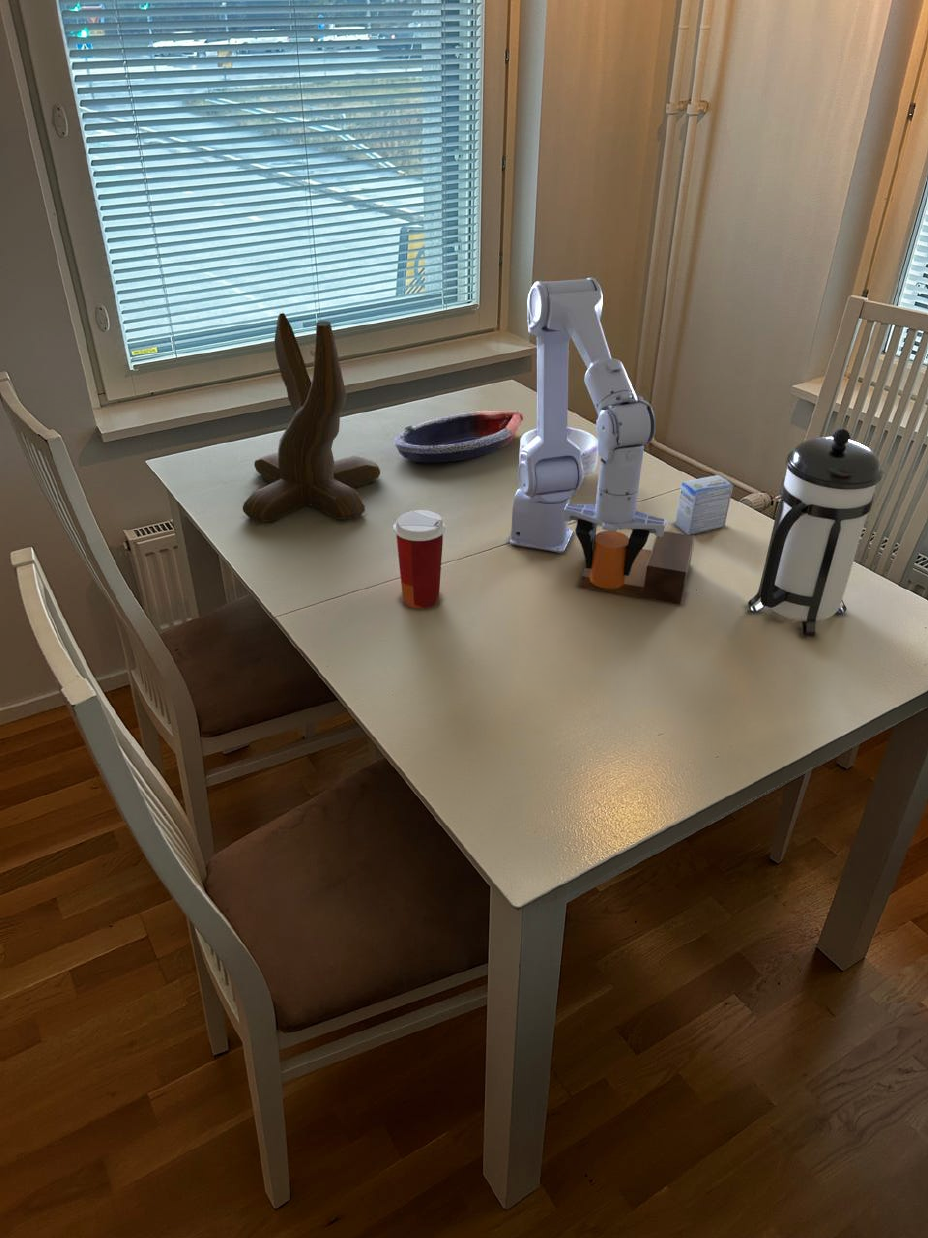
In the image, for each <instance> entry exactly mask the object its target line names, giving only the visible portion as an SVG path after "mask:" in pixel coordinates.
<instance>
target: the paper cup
mask: <svg viewBox="0 0 928 1238" xmlns="http://www.w3.org/2000/svg"><path fill="white" fill-rule="evenodd" d="M392 529H393V532H394V533H395V535H396V547H397V557H398V565H399V574H400V575H399V576H400V584H401V586H400V587H401V593H402V600H403V603H404V604H405V605H406V606H408V607H410V608H412V609H417V610H424V609H429V608H432V607H434V606H435V605H437V603H438V602H439V598H440V587H441V573H442V572H441V570H442V559H443V557H442V556H443V542H444V541H443V540H444V533H445V531H446V525H445V523H444V521H443V519H442V517H441V516H440V515H439V514H438V513H436V512H433V511H431V510H425V509H414V510H410V511H407V512H404V513H402V514H400V515H399V516H398V518H397V519H396V520H395V523H394V524H393V526H392Z"/></svg>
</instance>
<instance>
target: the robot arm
mask: <svg viewBox="0 0 928 1238" xmlns="http://www.w3.org/2000/svg"><path fill="white" fill-rule="evenodd" d="M603 301H604V300H603V291H602V288H601V285H600V283H599V282H598V280H596V278H594V277H587V278H582V279H569V280H555V281H554V280H553V281H541V280H537V281H535V282H534V283H533V285H532V286H531V288H530V291H529V293H528V295H527V327H528V328H527V329H528V334H530V335H532V336H535V337H536V429H537V437H536V438H535V439H534V440H532V441H531V442H530V443H529V444H527V445H526V446H525V447H524V448H523V449H522V450H521V454H520V453H519V456H520V458H519V459H520V460H519V461H520V462H519V464H518V468H517V479H518V480H517V481H518V485H519V488H518V489H517V490H516V492H515V495H514V498H513V504H512V513H511V516H512V517H511V531H510V532H511V533H510V540H509V544H510V545H511V546H512V545H513V546H517V547H525V548H528V549H529V548H531V549H534V550H535V549H536V550H539V551H540V550H541V551H546V552H552V553H559V554H563V553H564V552H565V550H566V548H567V546H568V544H569V542H570V539H571V538H572V535H573V532H575V535H576V537H577V539H578V541H579V544H580V546H581V549H582V552H583V556H584V561H585V567H586V568H588V569H590V568H591V563H592V553H593V544H594V537H595V535H596V534H597V527H598V526H601V527H602V530H603V531H617V532H618V530H629V531H631V533H630V535H629V537H628V538H629V546H628V557H627V562H626V567H625V572H624V575H627V576H629V574H630V571H631V568H632V564H633V562H634V560H635V558H636V557H637V555H638V554H639V552H640V551H641V549H644V547H645V546H646V544H647V542H648V539H649V536H650V534H654V536H655V537H656V536H658V537H663V534H664V531H666V523H667V519H666V518H662V517H657V516H653V515H651V514H647V513H645V512H643V511H639V510H637V502H638V496H639V488H640V481H641V473H642V465H643V458H644V451H645V446H644V445H649V444H651V442H653V440H654V437H655V434H656V418H655V417H656V416H655V413H654V410H653V407H652V405H651V403H649V401H647V400H645V399H643V396H641V395H637V394H636V392H635V390H634V387H633V384H632V383H631V380H630V378H629V376H628V373H627V371H626V369H625V366H624V364H623V362H622V361H621V360H619V359H616V358H612V355H611V352H610V349H609V345H608V342H607V339H606V335H605V333H604V329H603V326H602V322H601V317H602V313H603V312H602V311H603V304H604V303H603ZM570 340H571V341H572V342H573V344H574V346H575V347H576V349H577V351H578V353H579V355H580V357H581V359H582V361H583V362H584V365H585V367H586V368H587V370H586V372H585V374H584V378H583V381H584V384H585V386H586V389H587V391H588V394H589V397H590V399H591V401H592V404H593V406H594V408H595V411H596V414H597V419H596V422H595V427H596V435H597V440H598V456H599V457H600V462H599V471H598V480H597V488H596V499H595V504H590V503H589V504H586V503H585V504H583V503H582V504H581V503H580V504H577V503H571V497H575V491H577V490H579V489H580V488H581V486H582V484H583V482H584V478H583V466H582V462H581V451H580V449H579V447H578V446H577V445H576V444H575V443H573V442H572V441H571V440H569V439H568V438H567V427H568V414H569V413H568V410H569V409H568V407H569V350H570V349H569V347H570V346H569V343H570ZM571 521H575V522H576V527H575V529H574V530H575V531H573V530H572V529H569V528H568V527H569V522H571Z"/></svg>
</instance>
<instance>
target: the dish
mask: <svg viewBox="0 0 928 1238" xmlns="http://www.w3.org/2000/svg"><path fill="white" fill-rule="evenodd" d="M523 420H524V416H523V413H520V412H519V411H506V410H505V411H503V410H488V411H487V410H483V411H481V410H480V411H470V412H462V413H456V414H451V415H446V416H442V417H438V418H434V419H431V420H427V421H424V422H421V423H418V424H415V425H407V426H406V427H405V428H404V429H403V430H402V431H401V432H400V433H398V435H397V436H396V438H395V439H394V447H395V448H396V449H397V451H398V453H399V454H400V455H401V456H402V457H403V458H404V459H406V460H408V461H411V462H418V463H445V462H446V463H447V462H456V461H462V460H468V459H472V458H476V457H480V456H483V455H486V454H489V453H492V452H494V451H497V450H500V449H502V448H504V447H505V446H507V445H508V444H509V443H510V442H511V441H512V440H513V439H514V438H515V435H516V434H517V432H518V431H519V429H520V427H521V426H522V421H523Z"/></svg>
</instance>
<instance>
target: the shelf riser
mask: <svg viewBox="0 0 928 1238" xmlns="http://www.w3.org/2000/svg"><path fill="white" fill-rule="evenodd" d="M695 539H696V536H695V535H693V534H690V535H688V534H686V533H685V534H684V533H678V532H674V531H668V530H665V531H664V534H663V537H658V536H655V540H654V542H653V546H652V548H651V549H645V548H642V549H641V551H640V552H639V554H638V555H637V557H636V558H635V560H634V562H633V564H632V568H631V571H630V574H629V576H627V575H625V581H624V584H623V585H622V586H620V587H618V588H614V589H605V588H601V587H598V586H596V585H594V584H593V583H592V582H591V581H590V572H591V568H590V569H588V568H586V566H585V567H584V569H583V572H582V574H581V577H580V585H579V586H580V587H582V588H587V589H591V590H592V589H593V590H598V591H603V592H609V593H613V594H614V593H615V594H620V595H625V596H631V597H637V598H643V599H647V600H653V601H659V602H665V603H670V604H674V605H675V604H676V605H681V604H682V600H683V596H684V593H685V587H686V583H687V580H688V576H689V571H690V568H691V562H692V556H693V550H694V545H695Z"/></svg>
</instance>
